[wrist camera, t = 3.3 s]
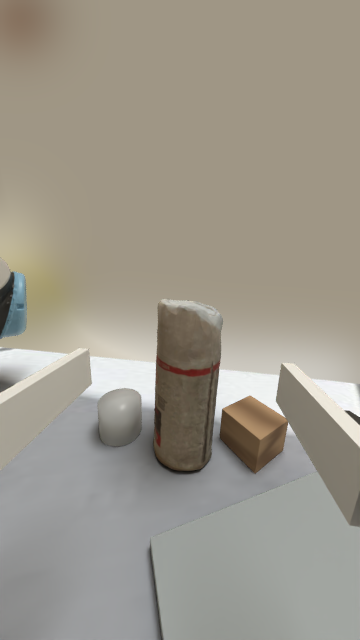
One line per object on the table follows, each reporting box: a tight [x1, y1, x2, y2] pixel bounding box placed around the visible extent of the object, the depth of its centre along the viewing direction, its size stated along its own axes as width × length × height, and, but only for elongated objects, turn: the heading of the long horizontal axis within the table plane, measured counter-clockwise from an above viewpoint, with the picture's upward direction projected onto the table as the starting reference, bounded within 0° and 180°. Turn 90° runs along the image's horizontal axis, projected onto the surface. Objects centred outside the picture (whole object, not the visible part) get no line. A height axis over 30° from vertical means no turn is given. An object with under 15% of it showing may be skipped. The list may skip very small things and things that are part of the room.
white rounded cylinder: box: [98, 388, 142, 447], centre depth 28 cm, size 6×6×5 cm
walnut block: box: [220, 396, 288, 473], centre depth 26 cm, size 6×6×5 cm
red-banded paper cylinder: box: [153, 299, 223, 471], centre depth 24 cm, size 8×8×20 cm
